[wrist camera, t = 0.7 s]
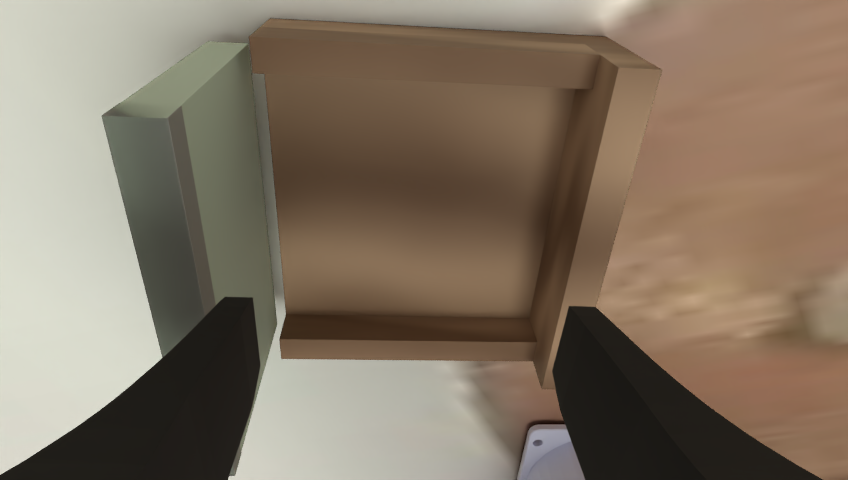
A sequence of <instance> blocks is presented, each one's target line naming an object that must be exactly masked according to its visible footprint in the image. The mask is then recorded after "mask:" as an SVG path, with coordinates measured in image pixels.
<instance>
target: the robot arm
mask: <svg viewBox="0 0 848 480" xmlns="http://www.w3.org/2000/svg"><path fill="white" fill-rule="evenodd" d="M260 366H261V365H260V356H259V347H258V338H257V329H256V321H255V312H254V303H253V297H224V298H223V299H222V300H221V301H220V302H219V303H218V304H217V305H216V306H215V307H214V308H213V309H212V310H211V311H210V312H209V313H208V314H207V315H206V316H205V317H204V318H203V319H202V320H201V321H200V322H199V323H198V324H197V325H196V326H195V327H194V328H193V329H192V330H191V331H190V332H189V333H188V334H187V335H186V336H185V337H184V338H183V339H182V340H181V341H180V342H179V343H178V344H177V345H175V346H174V347H173V348H172V349H171V350H170V351H169V352H168V353H167V354H166V355H165V356H164V357H163V358H162V359H161V360H160V361H159V362H157V363H156V364H155V365H154V366H153V367H152V368H151V369H150V370H148V371H147V372H146V373H145V374H144V375H143V376H141V377H140V378H139V379H138V380H137V381H136V382H135V383H133V384H132V385H131V386H130V387H129V388H128V389H126V390H125V391H124V392H123V393H121V394H120V395H119V396H118V397H116V398H115V399H114V400H113V401H111V402H110V403H109V404H108V405H106V406H105V407H104V408H102V409H101V410H100V411H98V412H97V413H96V414H94V415H93V416H91V417H90V418H89V419H87V420H86V421H85V422H83V423H82V424H80V425H79V426H77V427H76V428H75V429H73V430H71V431H70V432H68V433H67V434H65V435H64V436H62V437H61V438H59V439H58V440H56V441H54V442H53V443H51V444H50V445H48V446H47V447H45V448H44V449H42V450H41V451H39V452H37V453H36V454H34V455H33V456H31V457H30V458H28V459H27V460H25V461H23V462H22V463H20V464H18V465H16V466H15V467H13V468H11V469H10V470H8V471H6V472H4V473H3V474H1V475H0V480H228V477H229V474H230V471H231V468H232V466H233V463H234V460H235V457H236V454H237V451H238V448H239V445H240V442H241V439H242V436H243V433H244V430H245V427H246V424H247V421H248V418H249V415H250V412H251V409H252V405H253V401H254V396H255V392H256V387H257V382H258V376H259V371H260ZM552 373H553V378H554V383H555V388H556V393H557V397H558V402H559V406H560V410H561V413H562V416H563V419H564V422H565V424H538V425H534V426H532V427H531V428H530V429H529V431H528V434H527V439H526V443H525V447H524V452H523V456H522V460H521V464H520V469H519V473H518V477H517V480H822V479H821V478H819V477H817V476H815V475H814V474H812V473H810V472H808V471H806V470H805V469H803V468H801V467H799V466H798V465H796V464H794V463H793V462H791V461H789V460H788V459H786V458H785V457H783V456H781V455H780V454H778V453H776V452H775V451H773V450H772V449H770V448H768V447H767V446H765V445H763V444H762V443H760V442H759V441H757V440H756V439H754V438H753V437H751V436H750V435H748V434H747V433H745V432H744V431H742V430H741V429H739V428H738V427H737V426H735V425H734V424H732V423H731V422H730V421H728V420H727V419H725V418H724V417H723V416H721V415H720V414H718V413H717V412H715V411H714V410H713V409H711V408H710V407H709V406H707V405H706V404H705V403H704V402H702V401H701V400H700V399H698V398H697V397H696V396H695V395H693V394H692V393H691V392H690V391H689V390H687V389H686V388H685V387H684V386H682V385H681V384H680V383H679V382H677V381H676V380H675V379H674V378H673V377H672V376H670V375H669V374H668V373H667V372H666V371H665V370H663V369H662V368H661V367H660V366H659V365H658V364H657V363H655V362H654V361H653V360H652V359H651V358H650V357H649V356H648V355H647V354H645V353H644V352H643V351H642V350H641V349H640V348H639V347H638V346H637V345H636V344H635V343H634V342H632V341H631V340H630V339H629V338H628V337H627V336H626V335H625V334H624V333H623V332H622V331H621V330H620V329H619V328H617V327H616V326H615V325H614V324H613V323H612V322H611V321H610V320H609V319H608V318H607V317H606V316H605V315H603V314H602V313H601V312H600V311H599V310H598V309H597V308H595V307H587V306H569V308H568V312H567V315H566V319H565V323H564V327H563V331H562V335H561V338H560V342H559V346H558V350H557V354H556V358H555V361H554V365H553V369H552Z"/></svg>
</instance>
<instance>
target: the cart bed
mask: <svg viewBox="0 0 848 480" xmlns="http://www.w3.org/2000/svg"><path fill="white" fill-rule="evenodd" d="M249 42H250V52H251V62H252V72H253V73H257V74H265V85H266V96H267V107H268V118H269V130H270V141H271V152H272V163H273V174H274V185H275V196H276V207H277V218H278V229H279V241H280V252H281V263H282V274H283V285H284V296H285V307H286V317H285V320H284V324H283V328H282V332H281V336H280V349H281V359H355V360H454V361H533V362H534V366H535V369H536V372H537V375H538V378H539V382H540V385H541V388H542V389H556V388H555V383H554V378H553V373H552V369H553V365H554V361H555V358H556V354H557V350H558V346H559V342H560V338H561V335H562V331H563V327H564V323H565V319H566V315H567V312H568V308H569V306H587V307H595V308H596V305H597V301H598V297H599V294H600V290H601V287H602V283H603V280H604V276H605V272H606V269H607V265H608V262H609V258H610V255H611V251H612V247H613V244H614V240H615V237H616V233H617V230H618V226H619V222H620V219H621V215H622V212H623V208H624V205H625V201H626V197H627V194H628V190H629V187H630V183H631V180H632V176H633V172H634V169H635V165H636V162H637V158H638V155H639V151H640V148H641V144H642V140H643V137H644V133H645V130H646V126H647V123H648V119H649V115H650V112H651V108H652V105H653V101H654V98H655V94H656V90H657V87H658V83H659V80H660V76H661V73H662V69H660V68H658V67H656V66H655V65H653V64H651V63H650V62H648V61H646V60H645V59H643V58H641V57H640V56H638V55H636V54H635V53H633V52H631V51H629V50H628V49H626V48H624V47H623V46H621V45H619V44H618V43H616V42H614V41H613V40H611V39H609V38H607V37H602V36H584V35H565V34H547V33H529V32H510V31H492V30H474V29H455V28H437V27H419V26H400V25H382V24H364V23H345V22H327V21H308V20H290V19H272V18H270V19H269V20H268V21H266V22H265V23H264V24H263V25H262V26H261V27H259V28H258V29H257V30H256V31H255V32H254V33H253V34H251V35H250V36H249Z"/></svg>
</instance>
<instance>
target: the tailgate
mask: <svg viewBox="0 0 848 480" xmlns="http://www.w3.org/2000/svg"><path fill="white" fill-rule="evenodd" d="M102 119H103V123H104V127H105V131H106V135H107V139H108V143H109V147H110V151H111V155H112V159H113V163H114V167H115V171H116V175H117V179H118V183H119V187H120V191H121V195H122V199H123V203H124V207H125V211H126V215H127V219H128V223H129V227H130V231H131V234H132V238H133V242H134V246H135V250H136V254H137V258H138V262H139V266H140V270H141V274H142V278H143V282H144V286H145V290H146V294H147V298H148V302H149V306H150V310H151V314H152V318H153V322H154V326H155V330H156V334H157V338H158V342H159V346H160V350H161V354H162V357H164V356H165V355H166V354H167V353H168V352H169V351H170V350H171V349H172V348H173V347H174V346H175V345H177V344H178V343H179V342H180V341H181V340H182V339H183V338H184V337H185V336H186V335H187V334H188V333H189V332H190V331H191V330H192V329H193V328H194V327H195V326H196V325H197V324H198V323H199V322H200V321H201V320H202V319H203V318H204V317H205V316H206V315H207V314H208V313H209V312H210V311H211V310H212V309H213V308H214V307H215V306H216V305H217V304H218V303H219V302H220V301H221V300H222V299H223V298H224V297H253V303H254V312H255V321H256V329H257V338H258V347H259V356H260V365H261V366H260V371H259V376H258V382H257V387H256V392H255V396H254V401H253V405H252V409H251V412H250V415H249V418H248V421H247V424H246V427H245V430H244V433H243V436H242V439H241V442H240V445H239V448H238V451H237V454H236V457H235V460H234V463H233V466H232V468H231V471H230V474H229V476H235V474H236V470H237V467H238V463H239V460H240V456H241V450H242V447H243V443H244V440H245V436H246V432H247V429H248V425H249V422H250V418H251V415H252V411H253V408H254V404H255V400H256V397H257V393H258V390H259V386H260V383H261V379H262V376H263V372H264V368H265V365H266V361H267V358H268V354H269V351H270V347H271V344H272V340H273V336H274V333H275V329H276V326H277V318H276V308H275V299H274V289H273V279H272V269H271V259H270V250H269V240H268V230H267V220H266V210H265V201H264V191H263V181H262V171H261V162H260V152H259V142H258V132H257V122H256V113H255V103H254V93H253V83H252V73H251V64H250V54H249V44H248V43H229V42H210V41H208V42H206V43H205V44H204V45H202V46H201V47H199V48H198V49H197V50H195V51H194V52H192V53H191V54H189V55H188V56H187V57H185V58H184V59H182V60H181V61H180V62H178V63H177V64H175V65H174V66H172V67H171V68H170V69H168V70H167V71H165V72H164V73H163V74H161V75H160V76H158V77H157V78H155V79H154V80H153V81H151V82H150V83H148V84H147V85H146V86H144V87H143V88H141V89H140V90H138V91H137V92H136V93H134V94H133V95H131V96H130V97H129V98H127V99H126V100H124V101H123V102H121V103H119V104H118V105H116V106H115V107H113V108H112V109H110V110H109V111H108V112H106V113H105V114H103V115H102Z"/></svg>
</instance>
